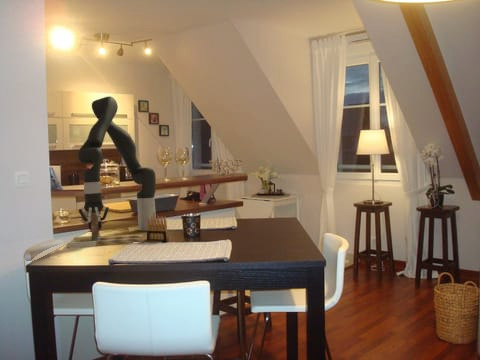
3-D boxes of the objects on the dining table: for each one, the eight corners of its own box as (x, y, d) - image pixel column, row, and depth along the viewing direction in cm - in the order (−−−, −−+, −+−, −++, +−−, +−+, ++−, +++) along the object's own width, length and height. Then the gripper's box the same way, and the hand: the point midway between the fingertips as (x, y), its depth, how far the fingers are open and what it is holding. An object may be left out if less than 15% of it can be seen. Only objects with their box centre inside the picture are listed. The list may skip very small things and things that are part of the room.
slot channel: (143, 240, 226) (142, 234, 226) (141, 244, 214) (141, 238, 214) (99, 243, 223) (99, 237, 223) (95, 248, 211) (95, 241, 211)
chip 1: (84, 244, 218) (84, 236, 218) (83, 246, 214) (82, 237, 214) (75, 245, 218) (74, 236, 217) (73, 247, 214) (73, 238, 213)
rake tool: (100, 242, 219) (98, 211, 219) (98, 243, 215) (97, 212, 214) (93, 242, 219) (91, 212, 218) (92, 244, 214) (90, 213, 213)
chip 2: (93, 244, 219) (93, 235, 218) (92, 246, 215) (91, 237, 214) (84, 245, 218) (84, 236, 218) (83, 246, 214) (82, 237, 214)
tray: (99, 243, 222) (98, 236, 222) (96, 247, 212) (95, 241, 212) (72, 245, 221) (72, 238, 220) (67, 249, 210) (67, 243, 210)
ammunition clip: (168, 241, 220) (167, 215, 219) (166, 242, 218) (165, 216, 218) (149, 240, 224) (147, 215, 223) (146, 241, 222) (145, 215, 222)
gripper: (109, 190, 220) (112, 227, 221) (78, 192, 218) (80, 229, 219) (107, 191, 213) (110, 230, 214) (75, 193, 211) (77, 232, 212)
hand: (95, 229), depth 217 cm, fingers closed on rake tool, 3 cm apart
